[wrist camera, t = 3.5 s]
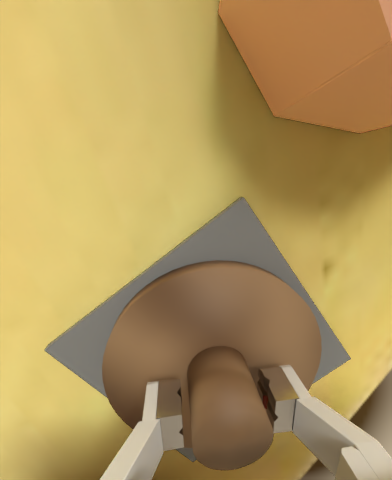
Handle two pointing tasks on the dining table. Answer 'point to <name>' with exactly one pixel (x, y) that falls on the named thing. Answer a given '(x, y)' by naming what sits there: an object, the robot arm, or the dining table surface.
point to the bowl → (318, 58)
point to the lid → (211, 353)
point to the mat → (188, 252)
